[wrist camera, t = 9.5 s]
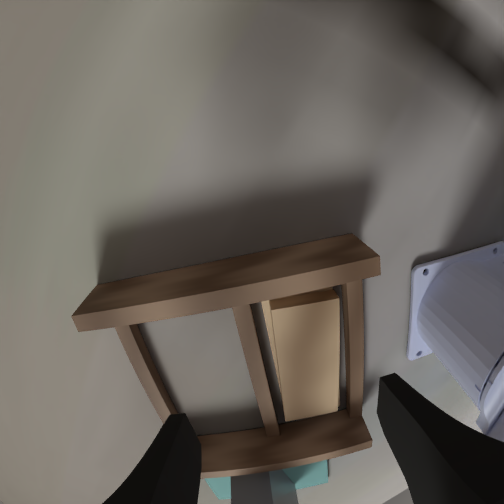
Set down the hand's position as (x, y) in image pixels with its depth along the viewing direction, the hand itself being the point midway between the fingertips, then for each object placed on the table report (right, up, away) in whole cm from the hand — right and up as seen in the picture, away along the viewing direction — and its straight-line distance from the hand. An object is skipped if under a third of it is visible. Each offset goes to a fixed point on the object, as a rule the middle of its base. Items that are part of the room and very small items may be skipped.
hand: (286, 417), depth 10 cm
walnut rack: (-2, -2, +11) cm, 11 cm away
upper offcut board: (+2, -1, +10) cm, 11 cm away
